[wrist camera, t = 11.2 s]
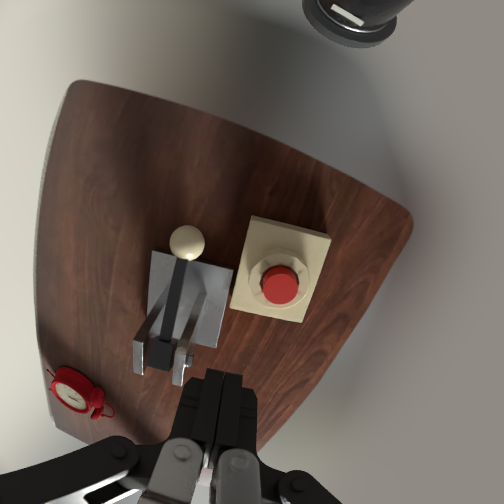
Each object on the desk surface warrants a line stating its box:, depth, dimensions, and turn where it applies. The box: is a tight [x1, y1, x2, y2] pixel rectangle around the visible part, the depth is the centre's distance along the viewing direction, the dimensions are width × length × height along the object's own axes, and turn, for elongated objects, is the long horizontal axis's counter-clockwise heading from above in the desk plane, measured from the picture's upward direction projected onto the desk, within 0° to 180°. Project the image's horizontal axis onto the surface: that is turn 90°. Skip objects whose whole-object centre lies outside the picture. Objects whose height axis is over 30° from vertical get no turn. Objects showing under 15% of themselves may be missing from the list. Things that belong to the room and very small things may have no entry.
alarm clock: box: [47, 367, 115, 420], centre depth 42 cm, size 10×6×15 cm
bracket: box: [132, 248, 234, 386], centre depth 30 cm, size 12×10×13 cm
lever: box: [147, 225, 205, 372], centre depth 26 cm, size 14×3×3 cm, turn 167°
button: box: [263, 266, 298, 305], centre depth 30 cm, size 4×4×2 cm
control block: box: [230, 215, 331, 323], centre depth 32 cm, size 11×9×4 cm
